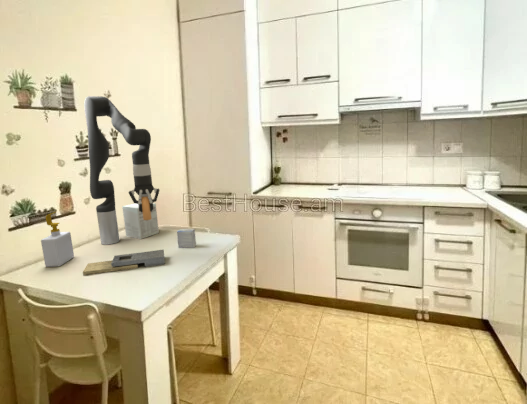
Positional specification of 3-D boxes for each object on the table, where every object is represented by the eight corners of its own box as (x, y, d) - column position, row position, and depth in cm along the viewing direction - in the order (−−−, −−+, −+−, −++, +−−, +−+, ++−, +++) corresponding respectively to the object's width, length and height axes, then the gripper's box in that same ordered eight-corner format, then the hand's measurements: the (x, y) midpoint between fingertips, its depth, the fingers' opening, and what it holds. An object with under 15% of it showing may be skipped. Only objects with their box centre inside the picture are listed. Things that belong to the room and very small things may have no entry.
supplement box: (159, 232, 199) (156, 203, 196) (140, 239, 188) (137, 207, 185) (144, 230, 206) (141, 201, 203) (125, 236, 195) (121, 206, 192)
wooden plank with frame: (83, 275, 141) (82, 267, 140) (88, 266, 150) (87, 259, 150) (164, 264, 149) (163, 256, 148) (164, 256, 159) (163, 249, 158)
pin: (142, 218, 161) (139, 193, 159) (152, 217, 162) (150, 192, 160) (141, 220, 157) (138, 194, 154) (152, 219, 158) (149, 194, 155)
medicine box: (196, 245, 174) (195, 228, 172) (193, 248, 169) (192, 231, 168) (181, 245, 174) (179, 228, 173) (178, 248, 170) (176, 231, 168)
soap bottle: (59, 266, 152) (50, 215, 147) (44, 267, 152) (35, 215, 148) (74, 257, 164) (67, 208, 159) (61, 257, 164) (53, 209, 159)
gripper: (158, 172, 161) (162, 208, 164) (126, 174, 157) (130, 211, 160) (158, 174, 154) (162, 211, 157) (124, 176, 150) (129, 214, 153)
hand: (146, 211), depth 159 cm, fingers closed on pin, 3 cm apart
